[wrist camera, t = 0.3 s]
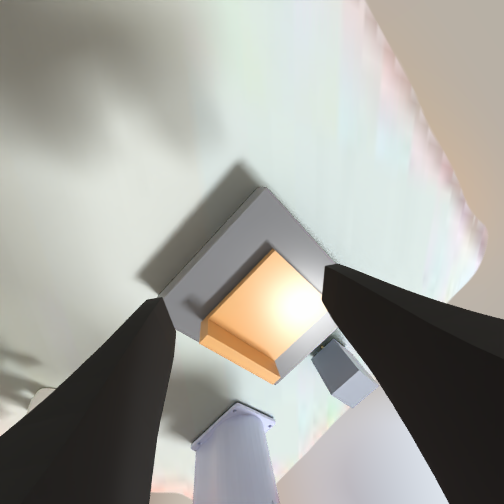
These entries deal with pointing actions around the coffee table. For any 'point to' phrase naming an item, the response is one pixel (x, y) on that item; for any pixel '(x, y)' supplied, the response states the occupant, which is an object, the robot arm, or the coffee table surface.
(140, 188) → the coffee table surface
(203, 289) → the socket base
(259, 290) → the panel
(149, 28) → the coffee table surface
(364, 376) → the grey rectangular block
